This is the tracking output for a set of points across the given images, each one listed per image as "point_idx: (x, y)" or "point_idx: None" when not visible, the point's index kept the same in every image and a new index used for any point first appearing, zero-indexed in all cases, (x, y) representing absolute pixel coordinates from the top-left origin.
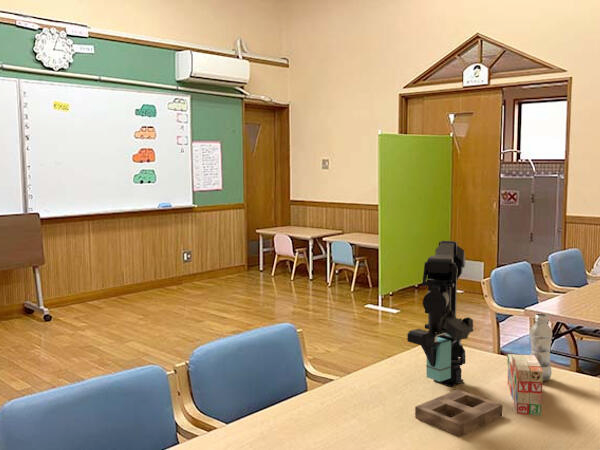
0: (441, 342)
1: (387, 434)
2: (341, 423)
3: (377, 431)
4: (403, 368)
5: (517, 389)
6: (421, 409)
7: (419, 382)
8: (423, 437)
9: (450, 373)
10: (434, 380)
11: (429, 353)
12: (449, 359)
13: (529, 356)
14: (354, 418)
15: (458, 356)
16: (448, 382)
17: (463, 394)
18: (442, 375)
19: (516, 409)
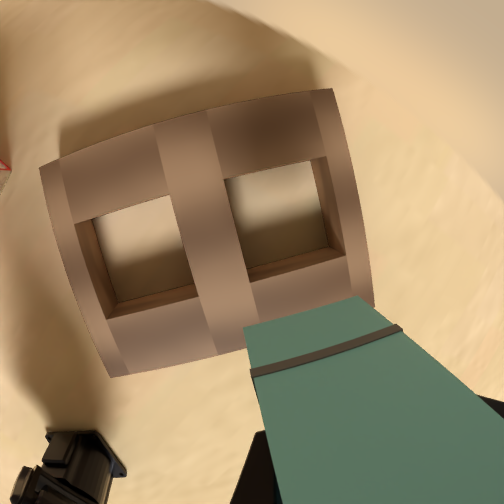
0: None
1: (468, 231)
2: (493, 327)
3: (474, 257)
4: None
5: None
6: (371, 277)
7: (171, 481)
8: (413, 162)
9: (249, 343)
10: (125, 472)
11: None
12: (292, 417)
13: None
14: (466, 343)
15: (43, 492)
16: (94, 446)
17: (116, 328)
18: (346, 318)
19: (3, 174)
